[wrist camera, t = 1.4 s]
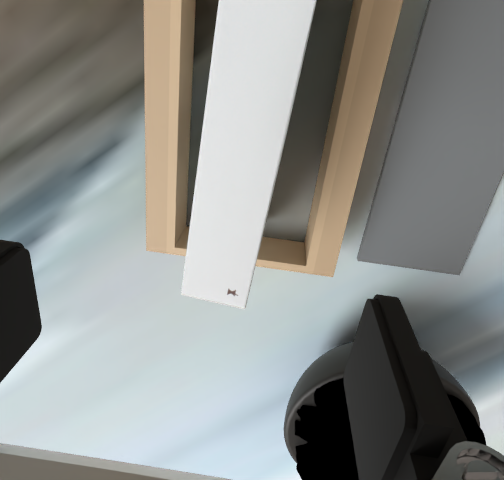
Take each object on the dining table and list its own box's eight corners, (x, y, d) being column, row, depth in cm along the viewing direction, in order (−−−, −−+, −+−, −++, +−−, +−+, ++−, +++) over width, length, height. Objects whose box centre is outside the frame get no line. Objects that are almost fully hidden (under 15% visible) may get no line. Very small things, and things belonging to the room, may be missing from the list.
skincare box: (252, -21, 32) (225, -67, 18) (317, -7, 32) (340, -41, 18) (214, 210, 42) (178, 298, 28) (264, 221, 42) (253, 314, 28)
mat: (440, -40, 31) (442, -42, 30) (582, -22, 30) (587, -23, 30) (356, 258, 43) (357, 260, 43) (457, 272, 43) (459, 275, 42)
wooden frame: (163, -72, 31) (142, -91, 27) (398, -42, 31) (417, -56, 26) (160, 228, 43) (146, 250, 39) (328, 252, 43) (333, 277, 39)
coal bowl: (255, 378, 53) (240, 537, 36) (349, 274, 44) (386, 418, 27) (373, 439, 56) (410, 608, 40) (481, 353, 48) (585, 523, 31)
